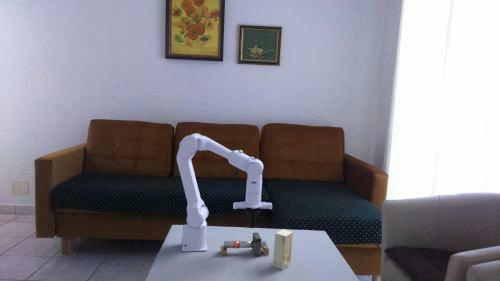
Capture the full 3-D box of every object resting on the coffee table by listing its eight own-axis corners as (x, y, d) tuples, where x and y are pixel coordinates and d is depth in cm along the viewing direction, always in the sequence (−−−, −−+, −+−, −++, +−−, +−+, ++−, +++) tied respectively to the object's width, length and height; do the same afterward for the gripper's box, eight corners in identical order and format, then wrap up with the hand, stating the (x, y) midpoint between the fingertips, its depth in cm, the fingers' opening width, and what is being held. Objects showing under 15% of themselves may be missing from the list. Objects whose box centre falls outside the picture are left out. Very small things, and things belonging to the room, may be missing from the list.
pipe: (221, 255, 129) (222, 243, 129) (220, 251, 133) (221, 238, 133) (268, 255, 133) (269, 242, 132) (266, 250, 136) (267, 238, 136)
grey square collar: (255, 256, 130) (256, 239, 130) (252, 248, 137) (253, 232, 136) (260, 256, 131) (261, 239, 130) (257, 248, 137) (258, 232, 136)
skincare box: (283, 270, 121) (285, 236, 120) (272, 266, 124) (274, 233, 122) (290, 263, 127) (293, 231, 125) (280, 260, 129) (282, 228, 128)
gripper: (235, 194, 125) (233, 231, 127) (275, 195, 128) (272, 230, 129) (233, 189, 132) (231, 223, 134) (270, 190, 135) (268, 223, 136)
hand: (251, 226), depth 132 cm, fingers closed
